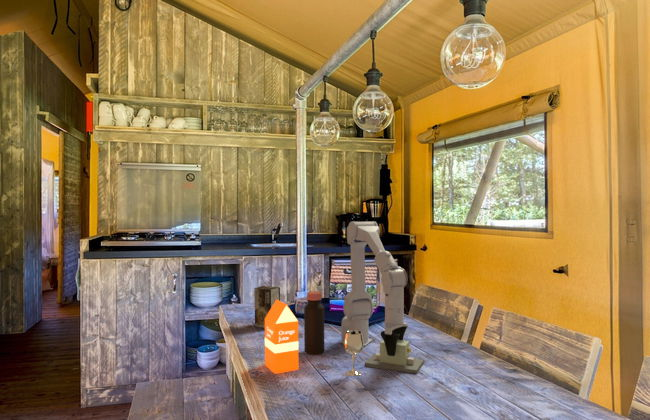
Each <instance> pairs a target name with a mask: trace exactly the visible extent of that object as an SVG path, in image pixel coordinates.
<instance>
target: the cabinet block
mask: <svg viewBox="0 0 650 420" xmlns="http://www.w3.org/2000/svg"><path fill="white" fill-rule="evenodd" d="M410 353H412V348H411V347H410V340H404V339H403V340H398V341H397V345H396V353H395V356H388V355H387V351H386V346H385V343H384V340H383V339H382V340H381V341H380V342H379V354H380V362H383V363H390V364H397V365H405V366H406V365H407V357H409V358H411V357H410Z"/></svg>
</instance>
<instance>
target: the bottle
mask: <svg viewBox="0 0 650 420" xmlns="http://www.w3.org/2000/svg"><path fill="white" fill-rule="evenodd" d="M306 300H307V303H306V305H305V306H304V308H303V309H304V313H303V314H304V315H303V316H304V318H303V320H304V321H303V322H304V323H303V324H304V325H303V326H304V335H303V336H304V339H303V340H304V345H303V346H304V350H303V351H304V353H305V354H307V355H311V356H317V355H321V354H323V353H324V352H325V306H324V305H323V304H322V303H321V302H322V292H321V291H313V290H312V291H308V292H306Z"/></svg>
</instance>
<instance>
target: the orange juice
mask: <svg viewBox="0 0 650 420" xmlns="http://www.w3.org/2000/svg"><path fill="white" fill-rule="evenodd" d="M264 365H265V367H266V368H268V369H269V370H270V371H271V372H272V373H273V374H276V375H277V374H283V373H286V372H287V373H288V372H292V371H293V372H294V371H298V370H299V320H298V319H297V317H296V316H295V315H294V313H293V312H292V310H291V309H290V307H289V306H288V304H287V303H284V302H283V301H281V300H280V301H279V300H277V299H276V301H275V303H274V304H273V306H272V308H271V309H270V311H269V313H268V314H267V316H266V318H265V328H264Z"/></svg>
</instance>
